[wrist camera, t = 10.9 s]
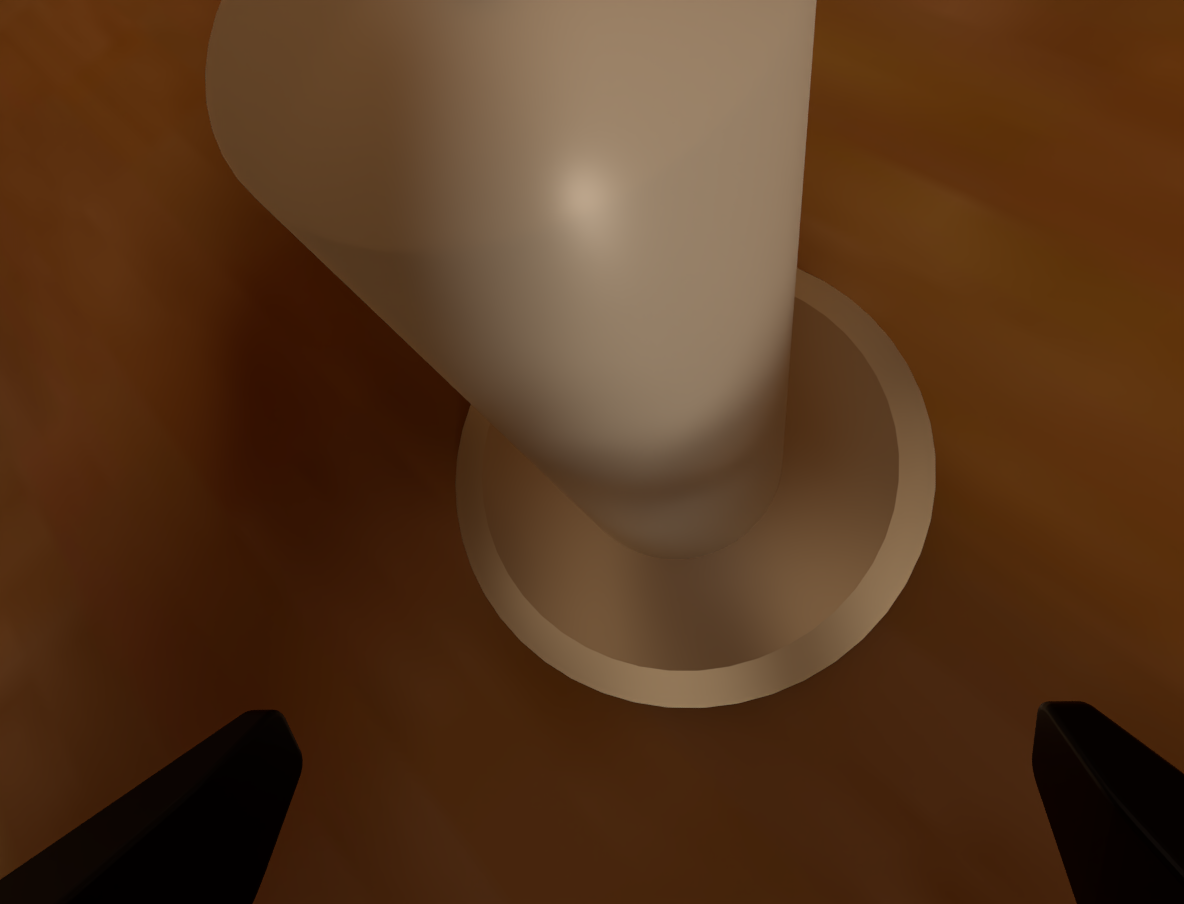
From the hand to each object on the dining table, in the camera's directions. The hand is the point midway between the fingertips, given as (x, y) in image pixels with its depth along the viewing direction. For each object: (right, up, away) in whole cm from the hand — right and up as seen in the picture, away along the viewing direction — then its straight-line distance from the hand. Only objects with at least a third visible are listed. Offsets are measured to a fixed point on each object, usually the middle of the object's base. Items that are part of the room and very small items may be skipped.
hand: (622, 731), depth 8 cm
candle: (+2, +3, +9) cm, 10 cm away
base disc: (+2, +3, +12) cm, 12 cm away
